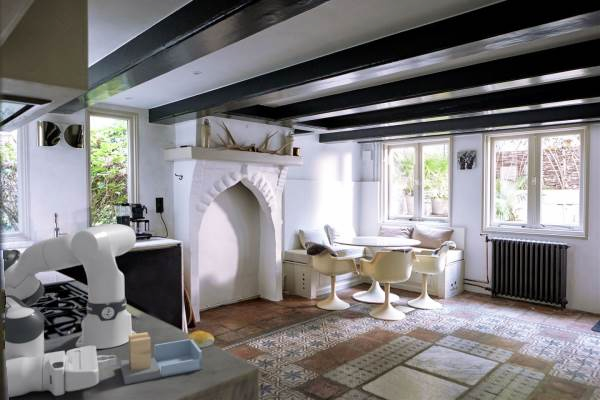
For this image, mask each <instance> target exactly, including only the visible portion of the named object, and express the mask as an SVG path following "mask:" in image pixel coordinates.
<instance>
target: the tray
mask: <svg viewBox="0 0 600 400" xmlns="http://www.w3.org/2000/svg"><path fill="white" fill-rule="evenodd" d="M153 347H154V357H155V359H156V362H157V364H158V366H159V368H160V374H161V378H164V377H165V378H166V377H171V376H175V375H180V374H185V373H189V372H195V371H199V370H200V371H201V370H203V351H202V350H201V348H199V347H198V346H197V345H196V343H195V342H194V341H193V339H187V338H186V339H181V340H174V341H170V342H163V343H157V344H154V346H153Z"/></svg>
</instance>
